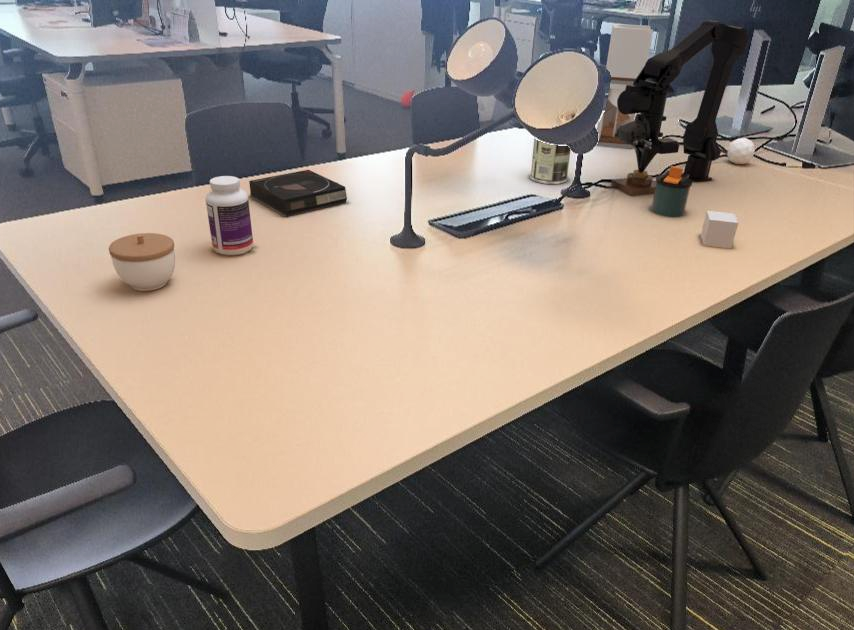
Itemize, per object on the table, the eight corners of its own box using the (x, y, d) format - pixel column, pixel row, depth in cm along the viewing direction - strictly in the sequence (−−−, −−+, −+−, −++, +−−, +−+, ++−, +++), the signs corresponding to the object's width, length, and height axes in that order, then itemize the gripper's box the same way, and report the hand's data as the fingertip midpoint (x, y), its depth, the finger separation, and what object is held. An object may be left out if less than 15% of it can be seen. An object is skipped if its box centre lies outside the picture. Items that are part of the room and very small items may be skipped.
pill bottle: (261, 245, 145) (254, 177, 137) (239, 260, 138) (231, 189, 131) (227, 239, 147) (219, 171, 139) (204, 253, 140) (194, 182, 133)
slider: (667, 177, 171) (670, 165, 169) (681, 179, 170) (684, 168, 168) (663, 181, 167) (665, 170, 166) (677, 184, 166) (680, 172, 165)
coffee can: (564, 173, 198) (571, 123, 190) (569, 185, 189) (576, 132, 182) (528, 172, 198) (533, 121, 190) (531, 183, 189) (536, 130, 182)
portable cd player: (287, 217, 159) (285, 200, 157) (250, 196, 170) (249, 180, 168) (347, 203, 169) (346, 187, 167) (309, 185, 180) (308, 169, 177)
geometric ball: (728, 170, 218) (723, 145, 218) (756, 163, 216) (750, 138, 216) (731, 164, 210) (725, 138, 211) (759, 156, 208) (753, 130, 209)
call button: (640, 175, 189) (641, 169, 189) (649, 179, 187) (650, 172, 186) (630, 176, 188) (631, 170, 187) (638, 180, 185) (639, 174, 184)
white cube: (700, 235, 161) (706, 210, 158) (727, 238, 160) (734, 213, 157) (703, 245, 156) (709, 219, 153) (731, 248, 155) (738, 222, 152)
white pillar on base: (596, 145, 226) (614, 27, 208) (595, 137, 235) (612, 23, 217) (632, 148, 225) (653, 29, 207) (630, 140, 234) (650, 25, 216)
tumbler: (654, 203, 179) (661, 168, 175) (688, 209, 176) (696, 174, 171) (645, 212, 173) (653, 177, 168) (681, 219, 169) (689, 183, 165)
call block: (643, 181, 194) (645, 169, 193) (664, 191, 188) (667, 179, 186) (610, 185, 190) (613, 172, 188) (631, 196, 183) (633, 182, 182)
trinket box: (143, 302, 121) (133, 252, 116) (104, 286, 126) (93, 237, 121) (192, 281, 129) (185, 233, 124) (154, 266, 134) (145, 220, 129)
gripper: (604, 104, 183) (595, 164, 191) (650, 121, 168) (638, 184, 176) (638, 102, 187) (628, 161, 195) (686, 118, 172) (673, 180, 180)
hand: (640, 171), depth 187 cm, fingers closed, pressing on call button
